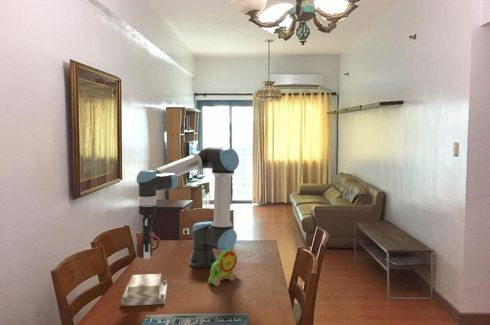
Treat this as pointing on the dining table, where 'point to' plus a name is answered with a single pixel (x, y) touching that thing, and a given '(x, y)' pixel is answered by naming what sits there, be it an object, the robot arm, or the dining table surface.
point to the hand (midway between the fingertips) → (147, 255)
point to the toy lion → (223, 267)
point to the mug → (141, 247)
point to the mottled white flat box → (145, 290)
